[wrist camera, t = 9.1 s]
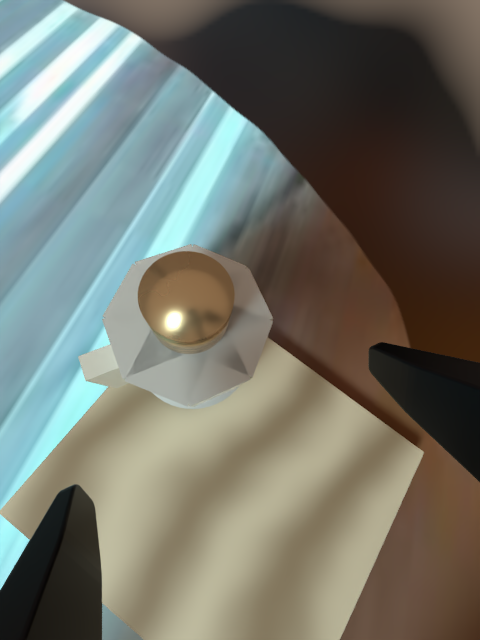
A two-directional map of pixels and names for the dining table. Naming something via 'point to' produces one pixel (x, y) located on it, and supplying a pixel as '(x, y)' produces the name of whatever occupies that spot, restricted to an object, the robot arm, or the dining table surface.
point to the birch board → (232, 504)
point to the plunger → (187, 301)
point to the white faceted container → (172, 367)
